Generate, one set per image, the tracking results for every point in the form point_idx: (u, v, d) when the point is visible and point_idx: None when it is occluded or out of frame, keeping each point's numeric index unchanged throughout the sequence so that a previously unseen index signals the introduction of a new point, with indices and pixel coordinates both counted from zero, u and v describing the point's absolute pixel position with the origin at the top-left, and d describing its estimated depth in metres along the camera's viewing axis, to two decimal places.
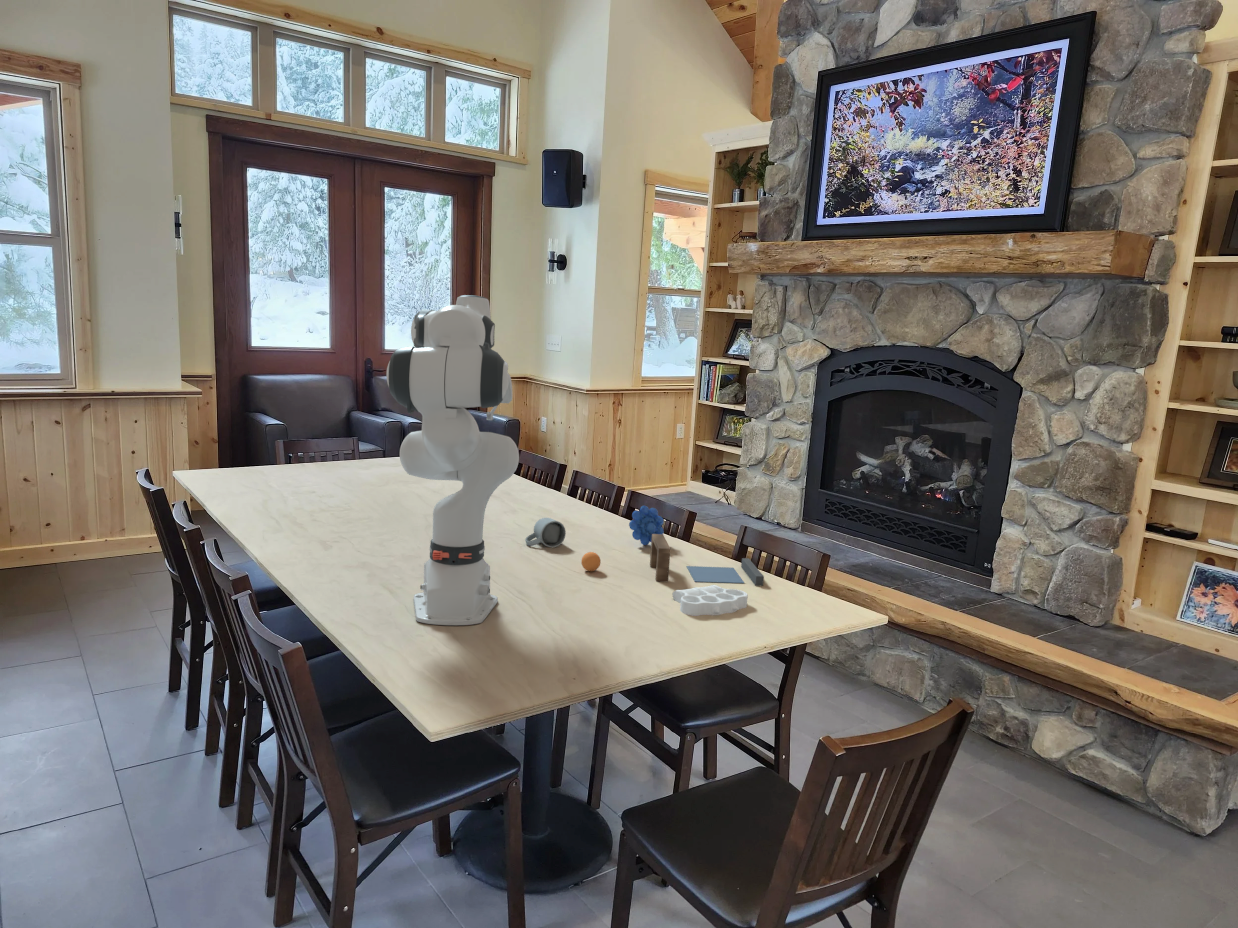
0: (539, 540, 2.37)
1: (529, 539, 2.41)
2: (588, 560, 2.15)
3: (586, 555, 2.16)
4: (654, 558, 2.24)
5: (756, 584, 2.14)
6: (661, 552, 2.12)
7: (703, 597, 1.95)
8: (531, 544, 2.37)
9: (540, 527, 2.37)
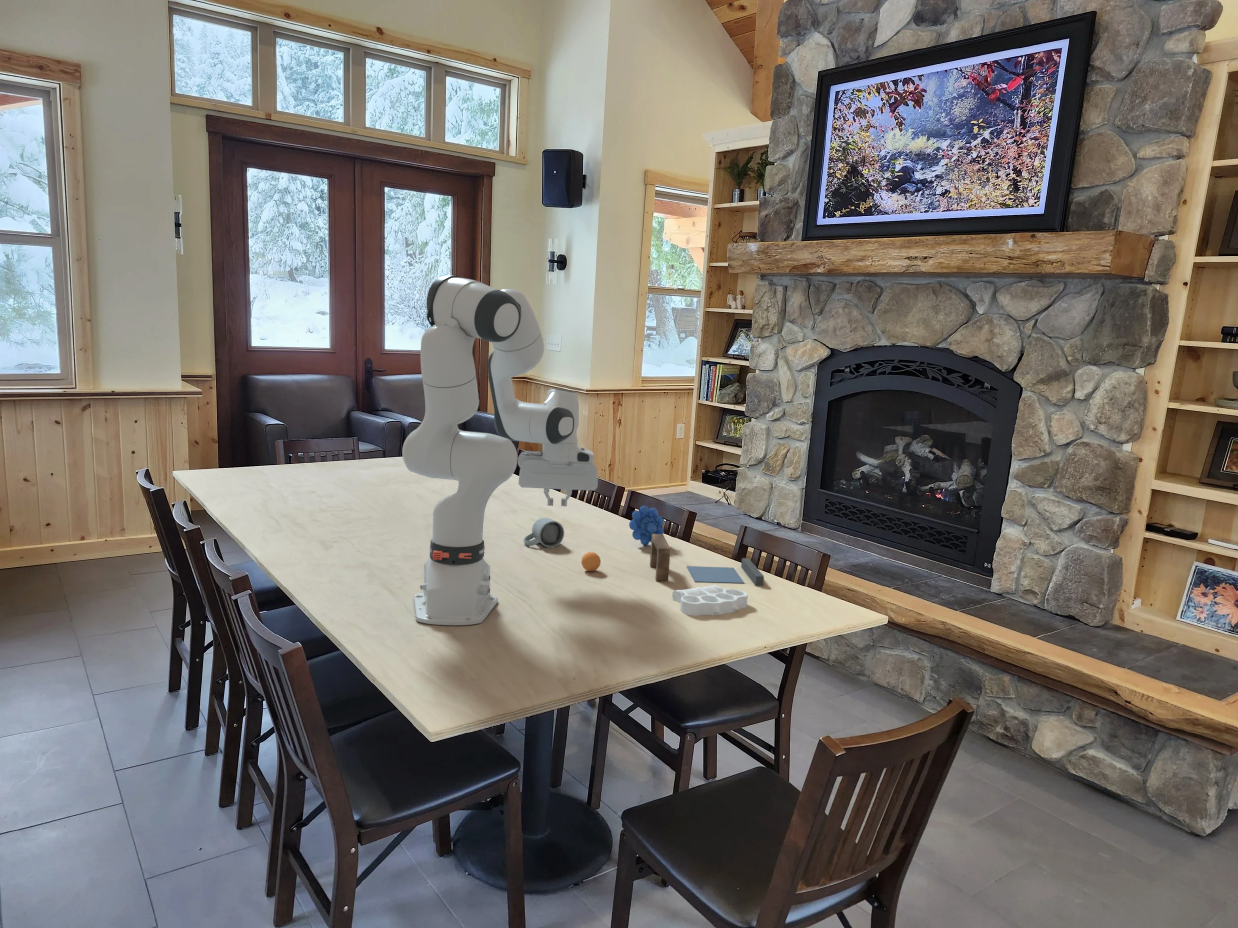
0: (537, 541, 2.37)
1: (527, 539, 2.41)
2: (588, 560, 2.15)
3: (586, 555, 2.16)
4: (654, 558, 2.24)
5: (756, 584, 2.14)
6: (661, 552, 2.12)
7: (703, 597, 1.95)
8: (529, 544, 2.37)
9: (538, 527, 2.37)
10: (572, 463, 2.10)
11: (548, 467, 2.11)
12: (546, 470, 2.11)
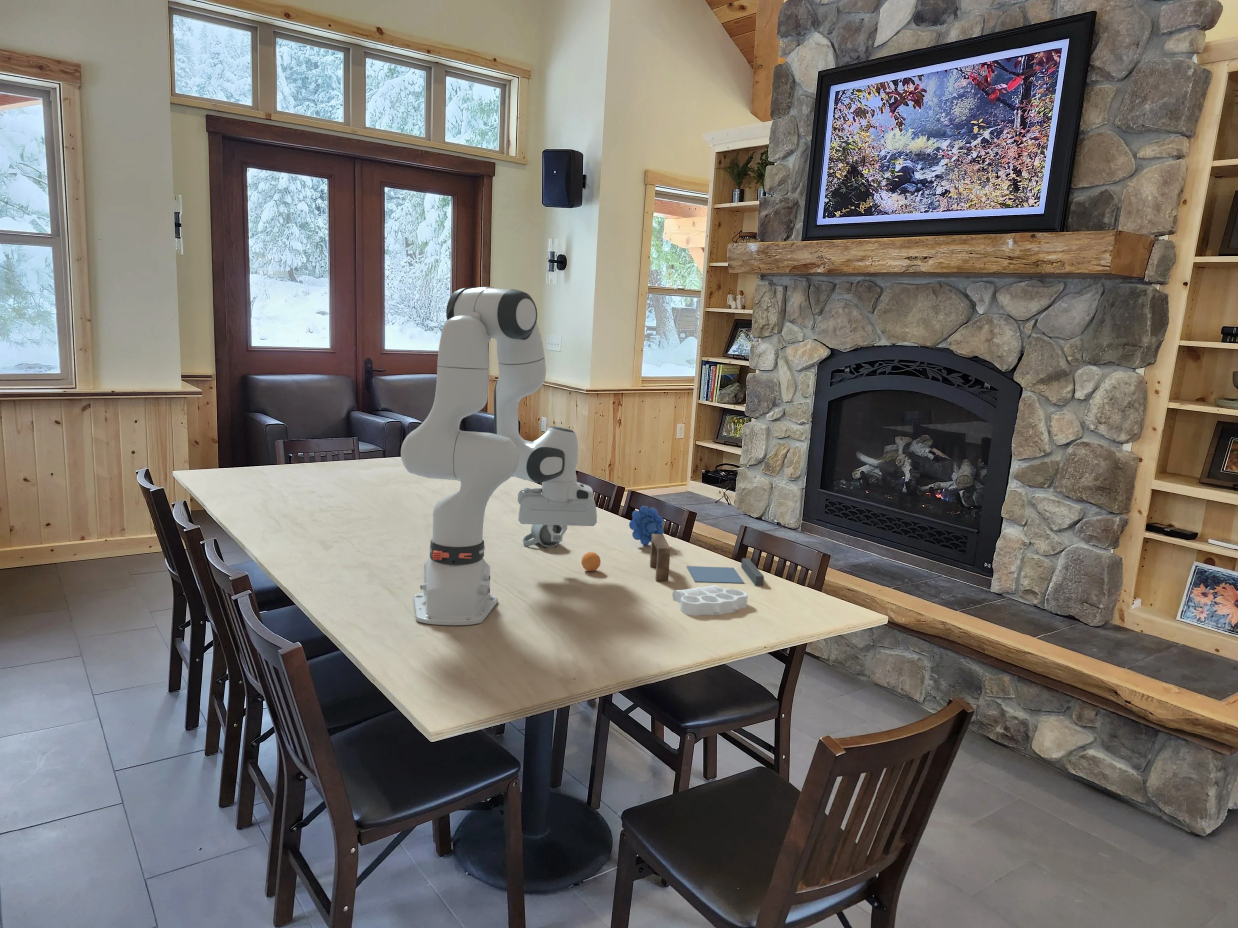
0: (536, 541, 2.36)
1: (526, 539, 2.41)
2: (588, 560, 2.15)
3: (586, 555, 2.16)
4: (654, 558, 2.24)
5: (756, 584, 2.14)
6: (661, 552, 2.12)
7: (703, 597, 1.95)
8: (528, 544, 2.37)
9: (537, 527, 2.37)
10: (571, 500, 2.12)
11: (548, 504, 2.13)
12: (545, 507, 2.13)
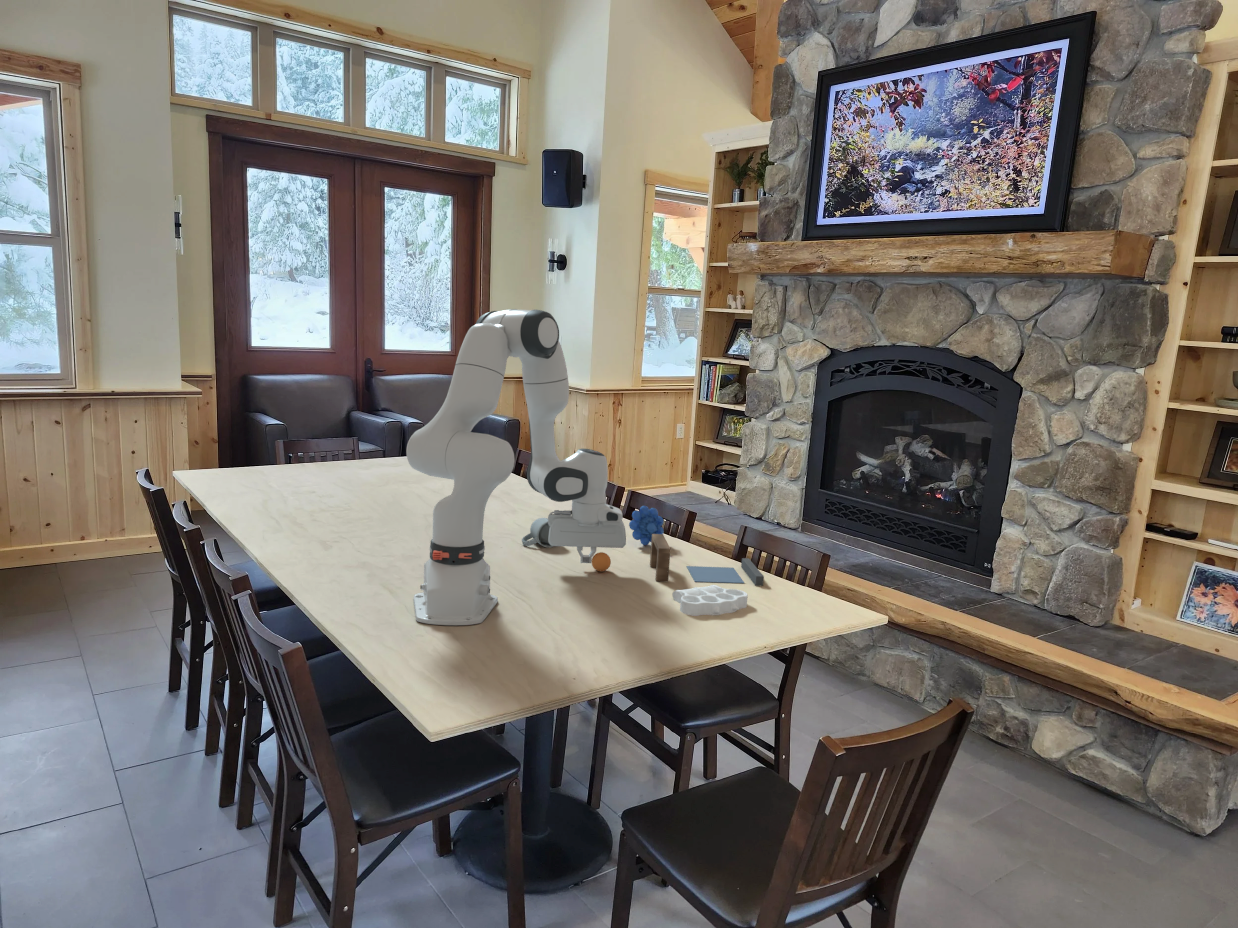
0: (535, 541, 2.36)
1: (525, 539, 2.41)
2: (602, 559, 2.16)
3: (603, 554, 2.17)
4: (654, 558, 2.24)
5: (756, 584, 2.14)
6: (661, 552, 2.12)
7: (703, 597, 1.95)
8: (527, 544, 2.37)
9: (536, 527, 2.37)
10: (601, 522, 2.14)
11: (577, 526, 2.15)
12: (575, 529, 2.15)
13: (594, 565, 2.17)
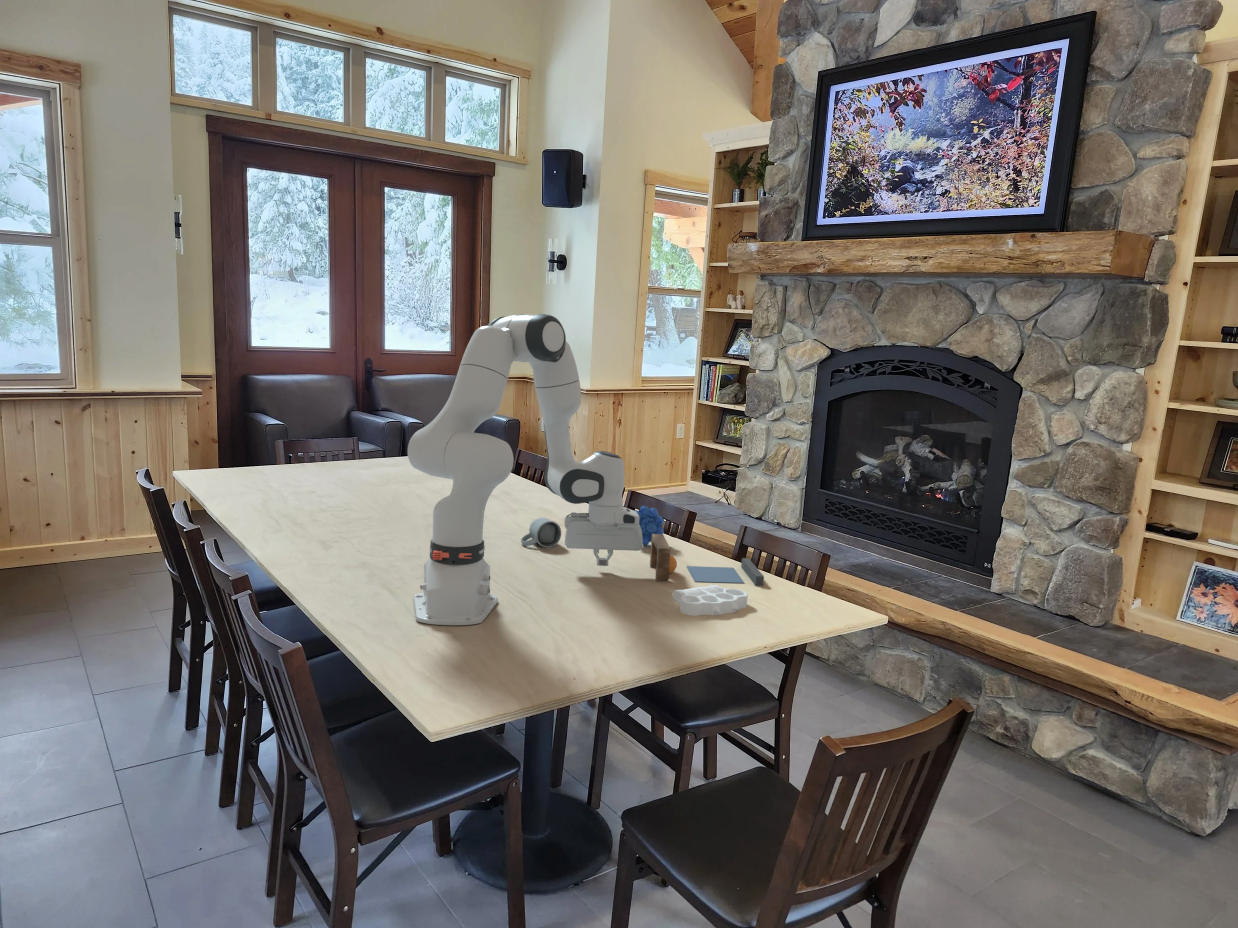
0: (534, 541, 2.36)
1: (525, 539, 2.41)
2: (672, 562, 2.18)
3: (674, 559, 2.19)
4: (654, 558, 2.24)
5: (756, 584, 2.14)
6: (661, 552, 2.12)
7: (703, 597, 1.95)
8: (527, 544, 2.37)
9: (536, 527, 2.37)
10: (618, 524, 2.14)
11: (594, 528, 2.15)
12: (592, 531, 2.15)
13: None
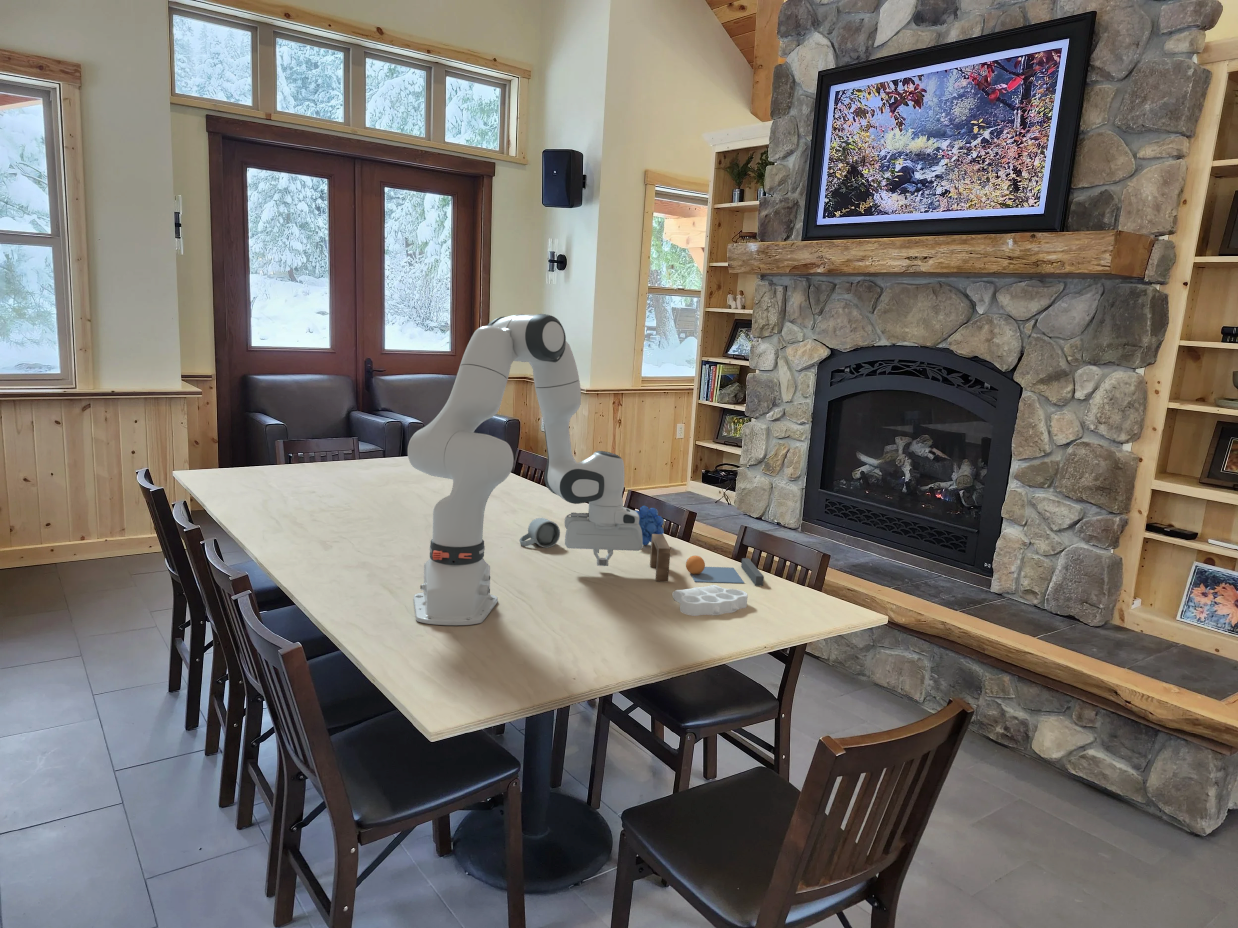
0: (533, 541, 2.36)
1: (523, 539, 2.40)
2: (693, 571, 2.19)
3: None
4: (654, 558, 2.24)
5: (756, 584, 2.14)
6: (661, 552, 2.12)
7: (703, 597, 1.95)
8: (525, 544, 2.36)
9: (534, 527, 2.37)
10: (618, 524, 2.14)
11: (594, 528, 2.15)
12: (592, 531, 2.15)
13: (703, 568, 2.19)
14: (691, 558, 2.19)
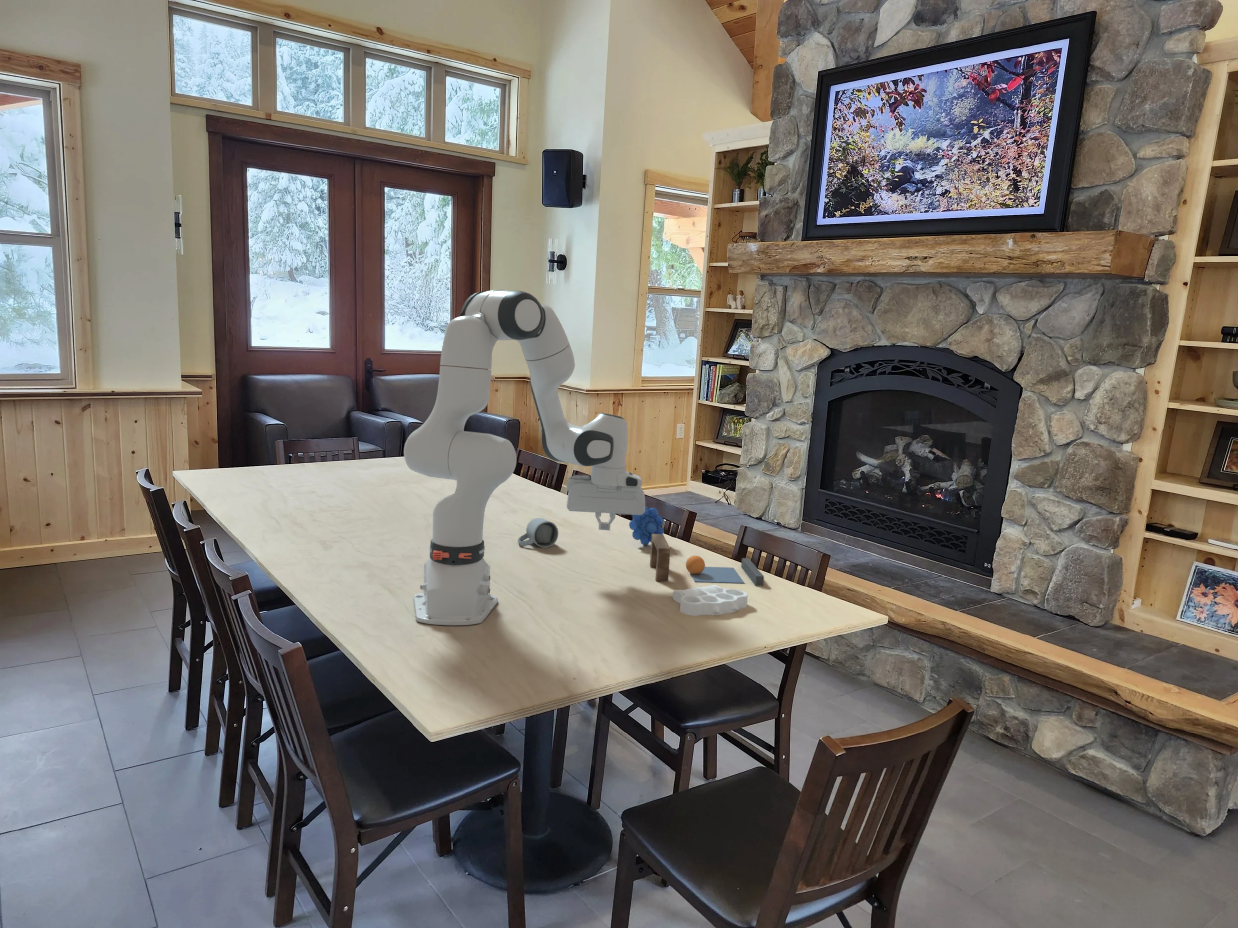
0: (531, 541, 2.36)
1: (522, 539, 2.40)
2: (693, 571, 2.19)
3: None
4: (654, 558, 2.24)
5: (756, 584, 2.14)
6: (661, 552, 2.12)
7: (703, 597, 1.95)
8: (524, 544, 2.36)
9: (533, 527, 2.37)
10: (620, 487, 2.12)
11: (596, 491, 2.12)
12: (594, 494, 2.13)
13: (703, 568, 2.19)
14: (691, 558, 2.19)
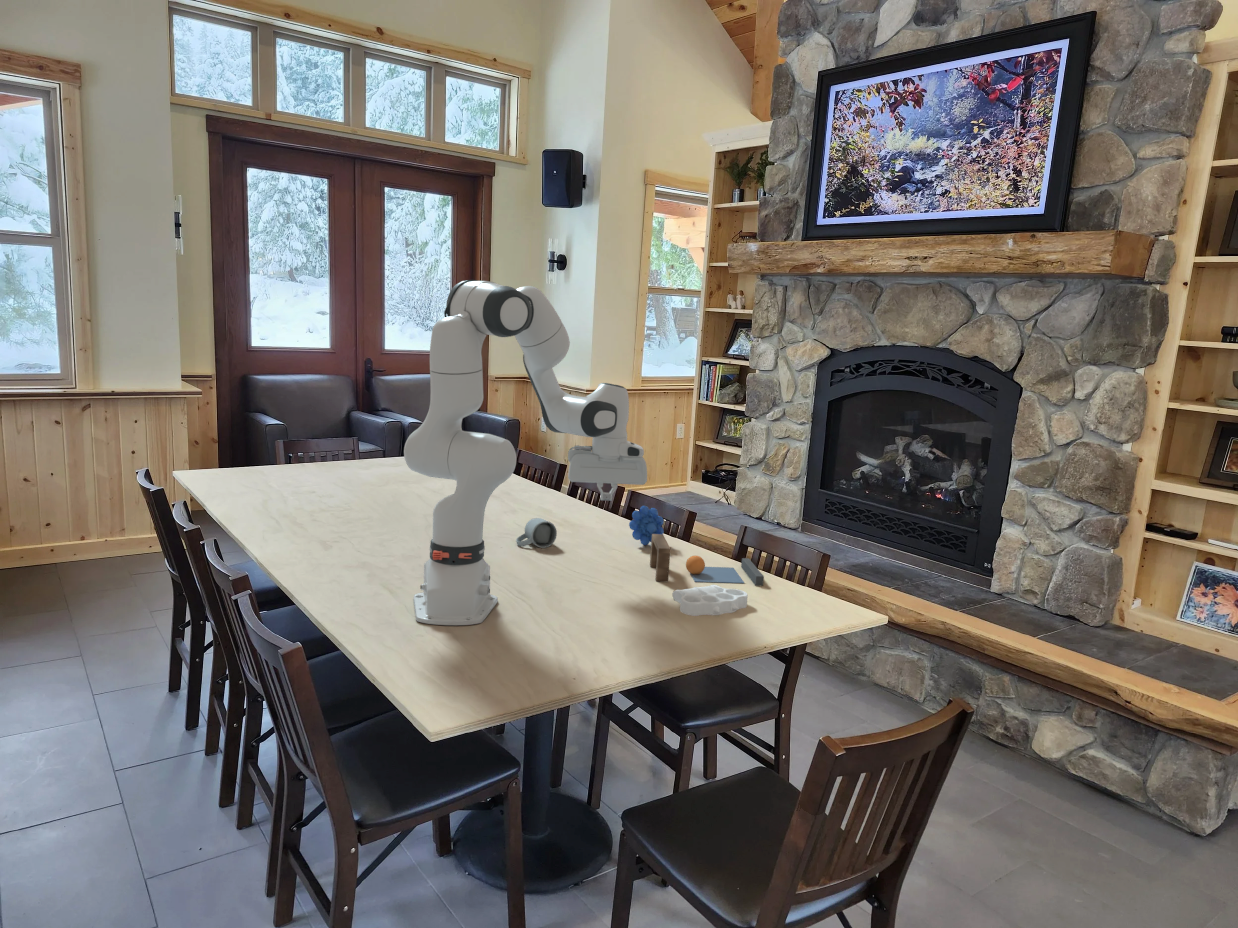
0: (530, 541, 2.36)
1: (520, 539, 2.40)
2: (693, 571, 2.19)
3: None
4: (654, 558, 2.24)
5: (756, 584, 2.14)
6: (661, 552, 2.12)
7: (703, 597, 1.95)
8: (522, 545, 2.36)
9: (531, 527, 2.36)
10: (622, 457, 2.11)
11: (598, 461, 2.12)
12: (596, 464, 2.12)
13: (703, 568, 2.19)
14: (691, 558, 2.19)
